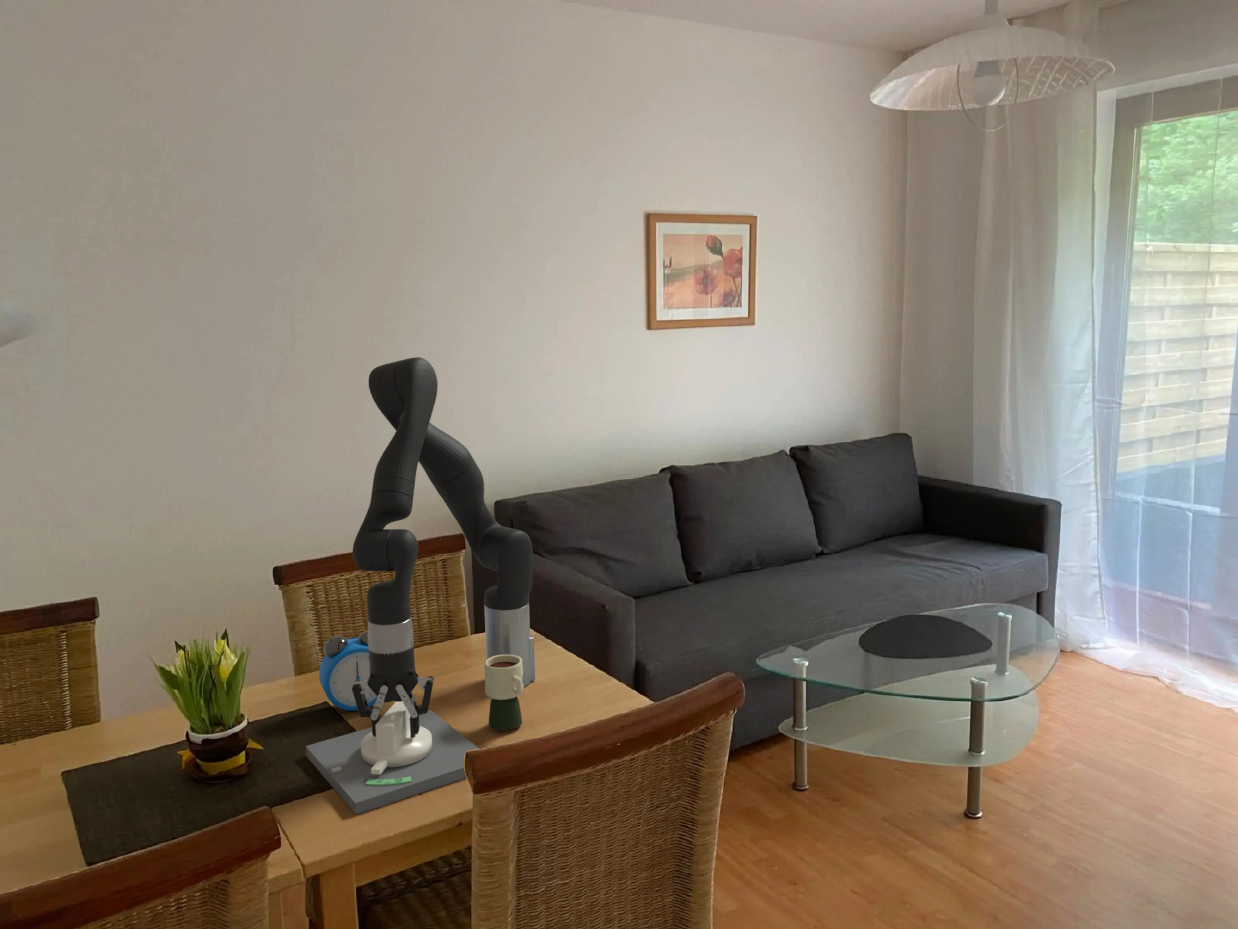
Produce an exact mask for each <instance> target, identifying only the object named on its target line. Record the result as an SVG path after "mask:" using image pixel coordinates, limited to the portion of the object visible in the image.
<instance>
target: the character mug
mask: <svg viewBox="0 0 1238 929" xmlns="http://www.w3.org/2000/svg"><path fill="white" fill-rule="evenodd" d="M522 677H523V667H522V659H521V658H520V657H518V656H515V655H497V656H493V657H490V658H488V659H487V660H484V687H485V688H484V690H485V695H486V697H488V698H489V699H490V704H489V712H488V726H489V728H491V729H492V730H494V731H506V730H507V731H508V730H511V729H515V728H519V727H521V726H522V725H523V718H522V710H521V706H520V701H519V698H518V697H519V696H520V695H521V694H522V692H523V691H524V687H525V686H523V683H522Z"/></svg>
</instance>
